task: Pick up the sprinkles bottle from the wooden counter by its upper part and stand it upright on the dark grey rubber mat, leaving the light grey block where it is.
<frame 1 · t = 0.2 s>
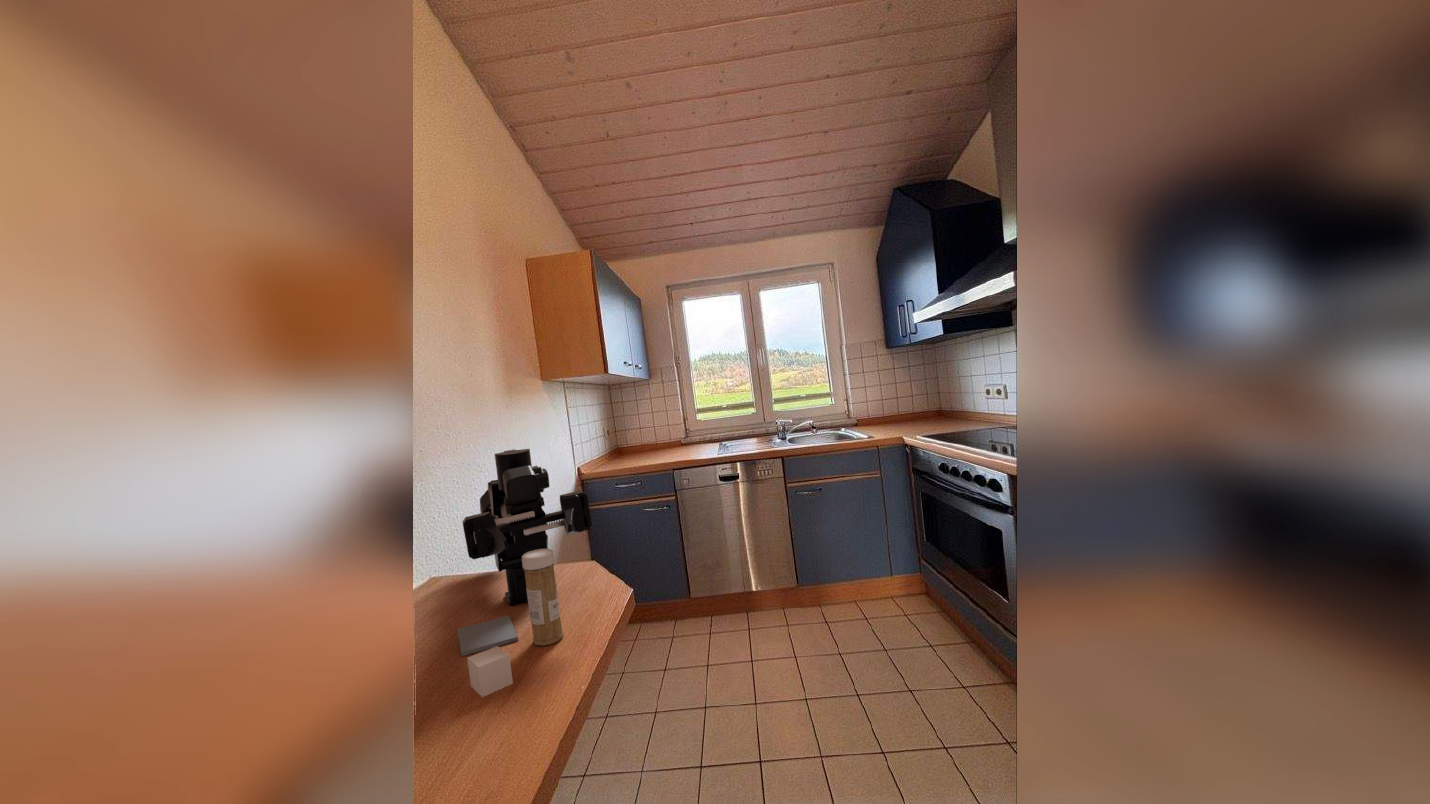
hand: (539, 536, 87), 17 cm above the countertop, tool horizontal, fingers open, 9 cm apart
light grey block: (492, 685, 79), on the countertop
grey mat: (487, 636, 95), on the countertop
sprinkles bottle: (548, 641, 91), on the countertop
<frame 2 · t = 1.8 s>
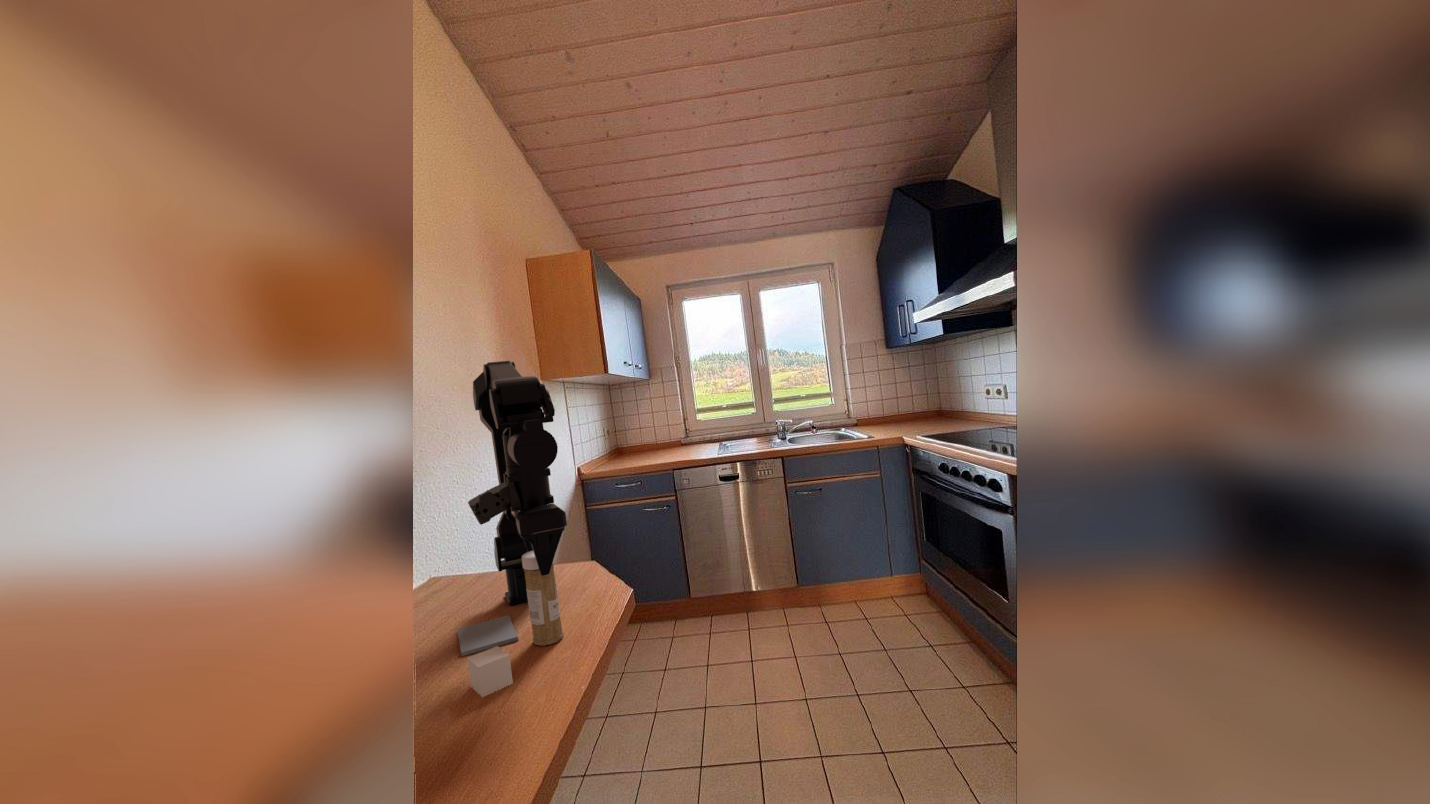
hand: (539, 566, 91), 11 cm above the countertop, tool pointing down, fingers open, 9 cm apart
nothing on the countertop moved.
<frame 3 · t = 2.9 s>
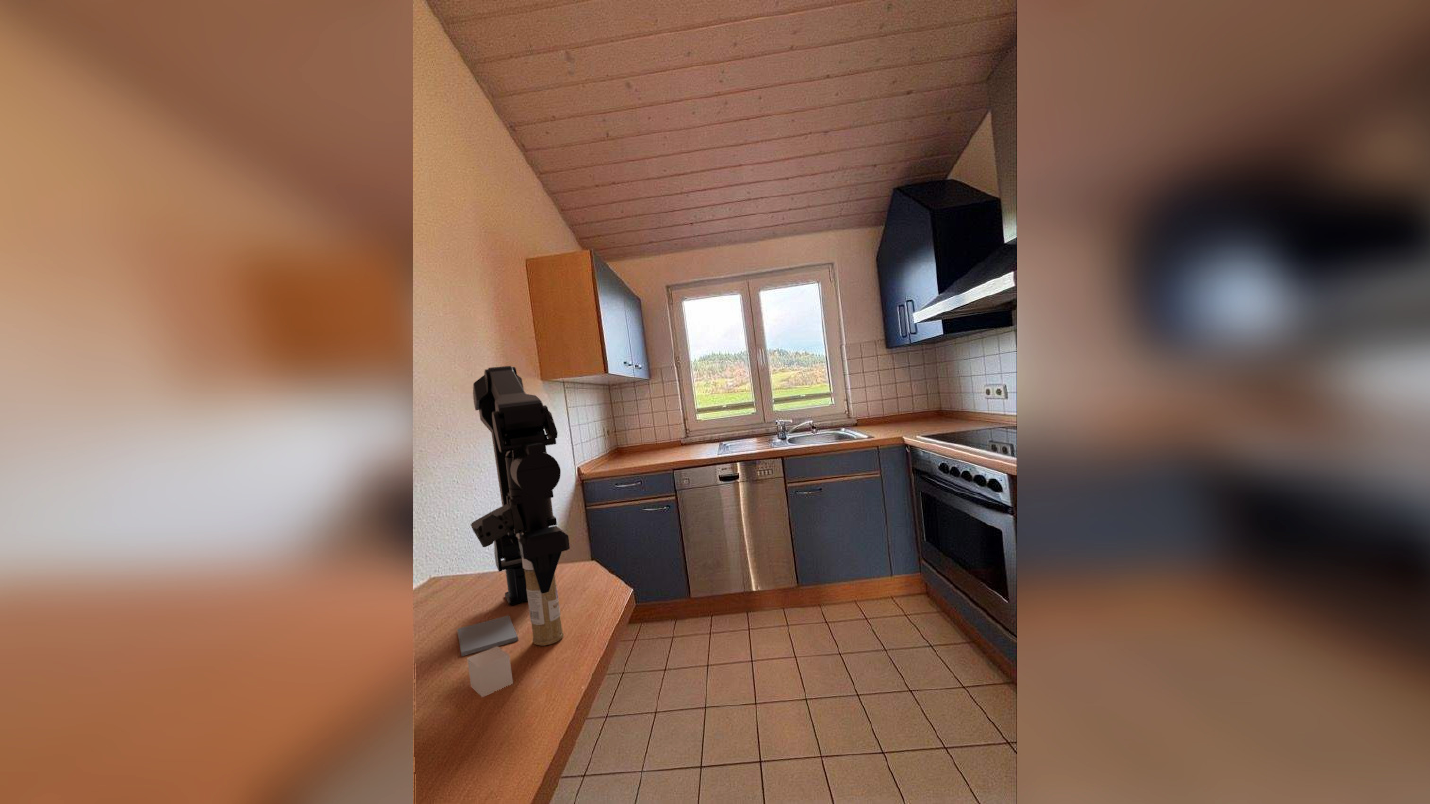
hand: (542, 587, 91), 8 cm above the countertop, tool pointing down, fingers closed on sprinkles bottle, 4 cm apart
sprinkles bottle: (548, 640, 91), on the countertop, touching gripper
everything else where it was.
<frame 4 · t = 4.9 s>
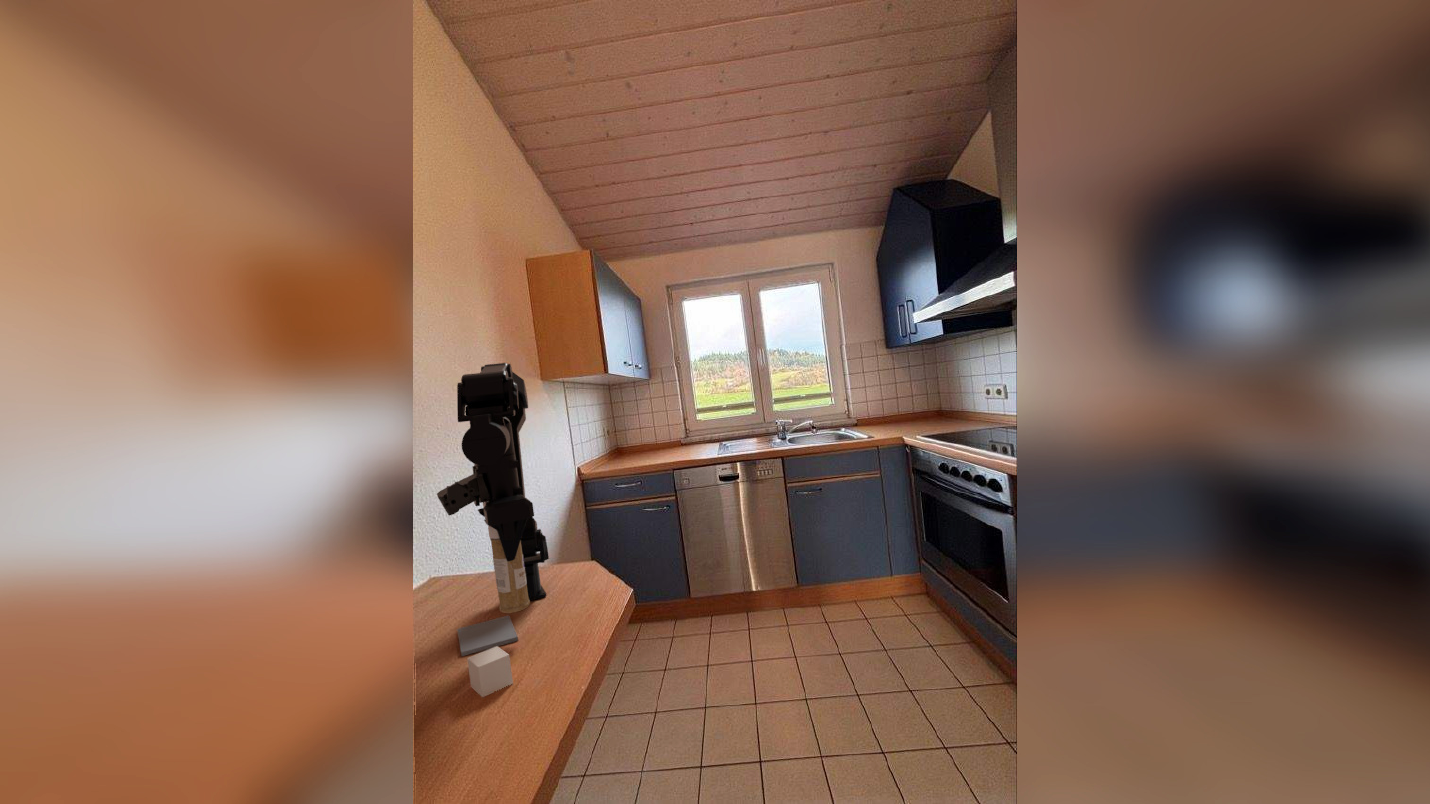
hand: (508, 556, 93), 13 cm above the countertop, tool pointing down, fingers closed on sprinkles bottle, 4 cm apart
sprinkles bottle: (514, 609, 93), point 4 cm above the countertop, touching gripper
everything else where it was.
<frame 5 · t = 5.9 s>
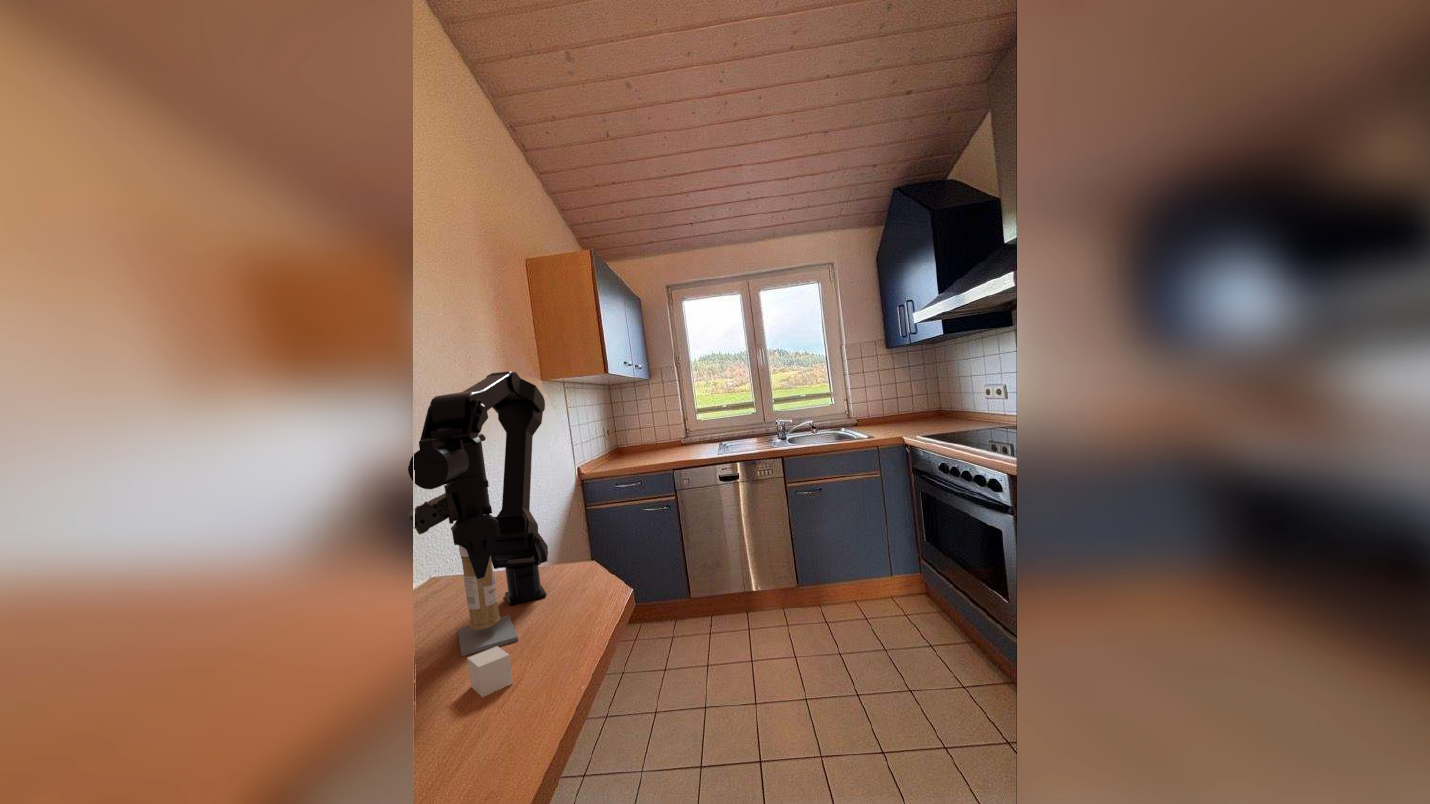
hand: (479, 573, 95), 10 cm above the countertop, tool pointing down, fingers closed on sprinkles bottle, 4 cm apart
sprinkles bottle: (485, 625, 95), point 2 cm above the countertop, touching gripper
everything else where it was.
when the fingers open (10 cm above the countertop, at t = 6.6 s): sprinkles bottle drops 1 cm, resting on grey mat.
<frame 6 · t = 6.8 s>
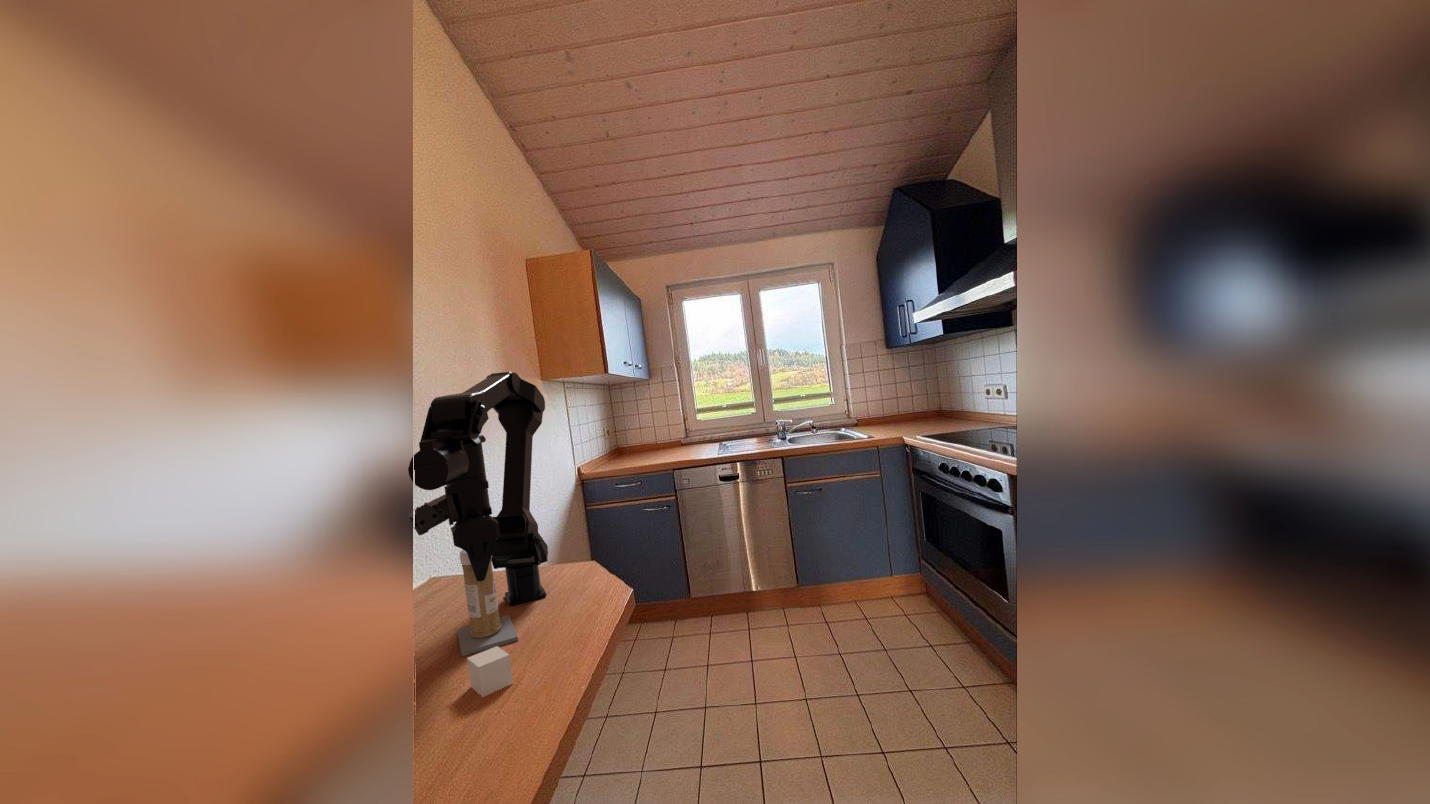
hand: (479, 575, 94), 10 cm above the countertop, tool pointing down, fingers open, 6 cm apart
sprinkles bottle: (486, 633, 95), resting on grey mat
everything else where it was.
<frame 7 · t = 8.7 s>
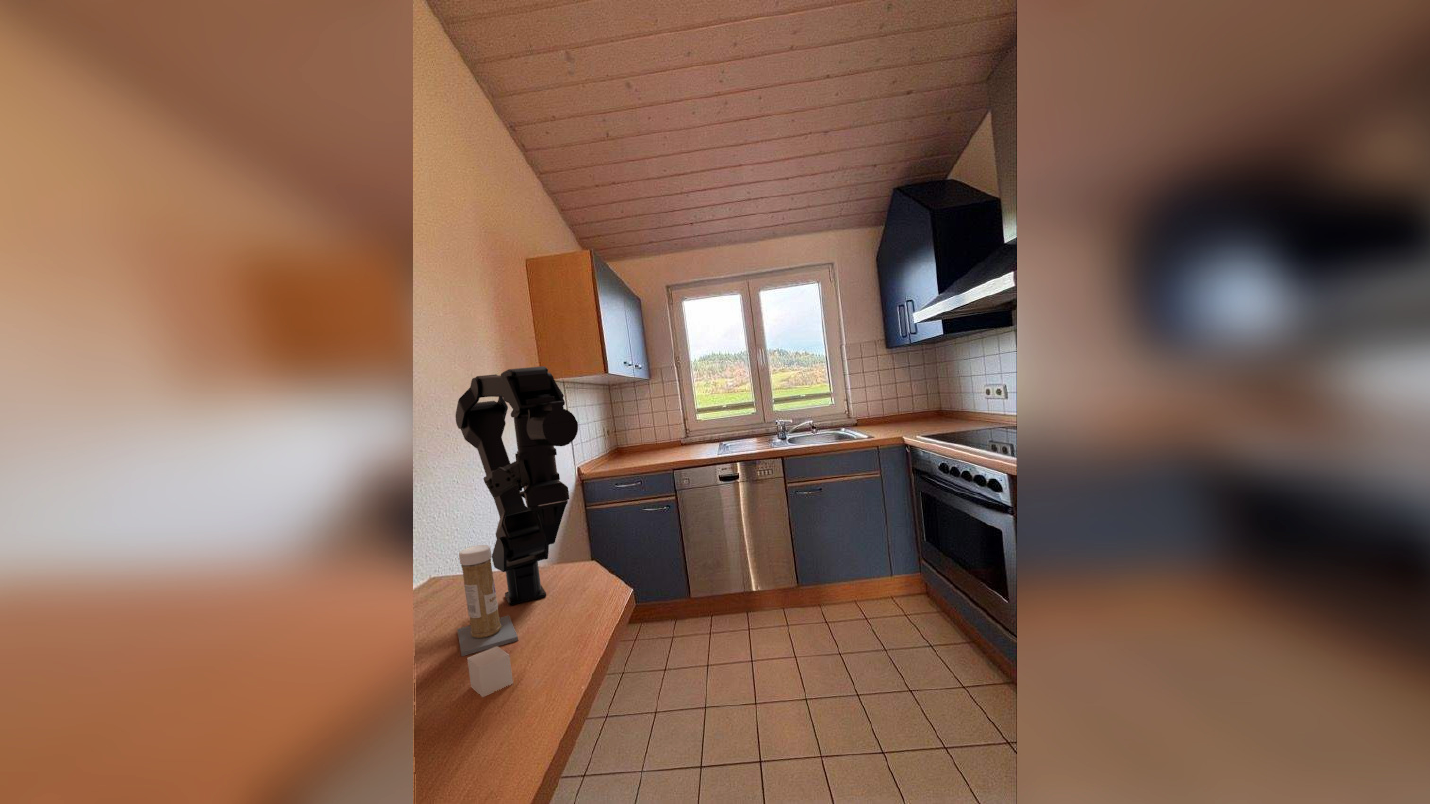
hand: (547, 537, 100), 13 cm above the countertop, tool pointing down, fingers open, 9 cm apart
nothing on the countertop moved.
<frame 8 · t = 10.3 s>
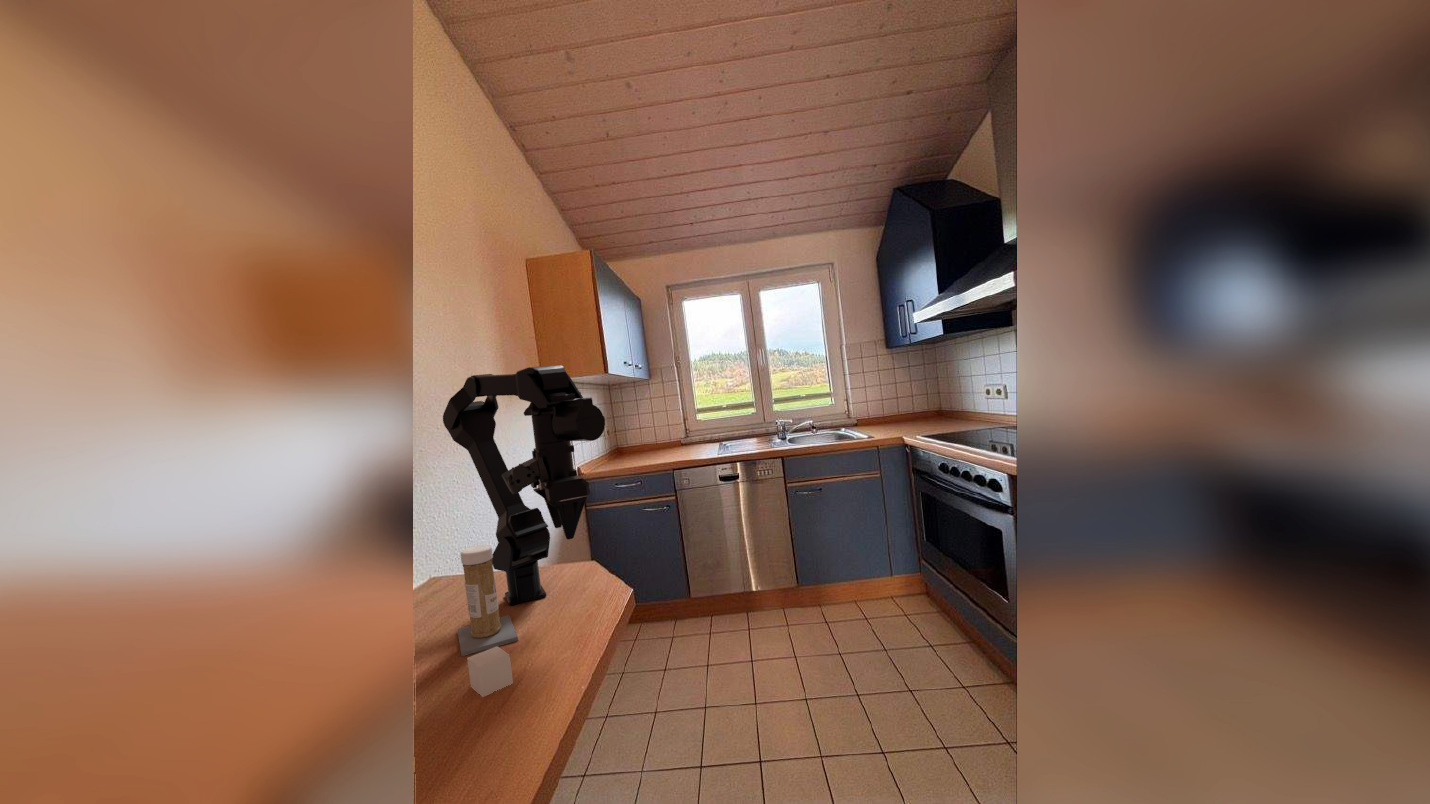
hand: (563, 533, 102), 13 cm above the countertop, tool pointing down, fingers open, 9 cm apart
nothing on the countertop moved.
at the end: sprinkles bottle inside the target area on the grey mat (0.1 cm from its centre), point 0.4 cm above the grey mat's base; sprinkles bottle tilted 1°; the gripper is holding nothing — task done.
